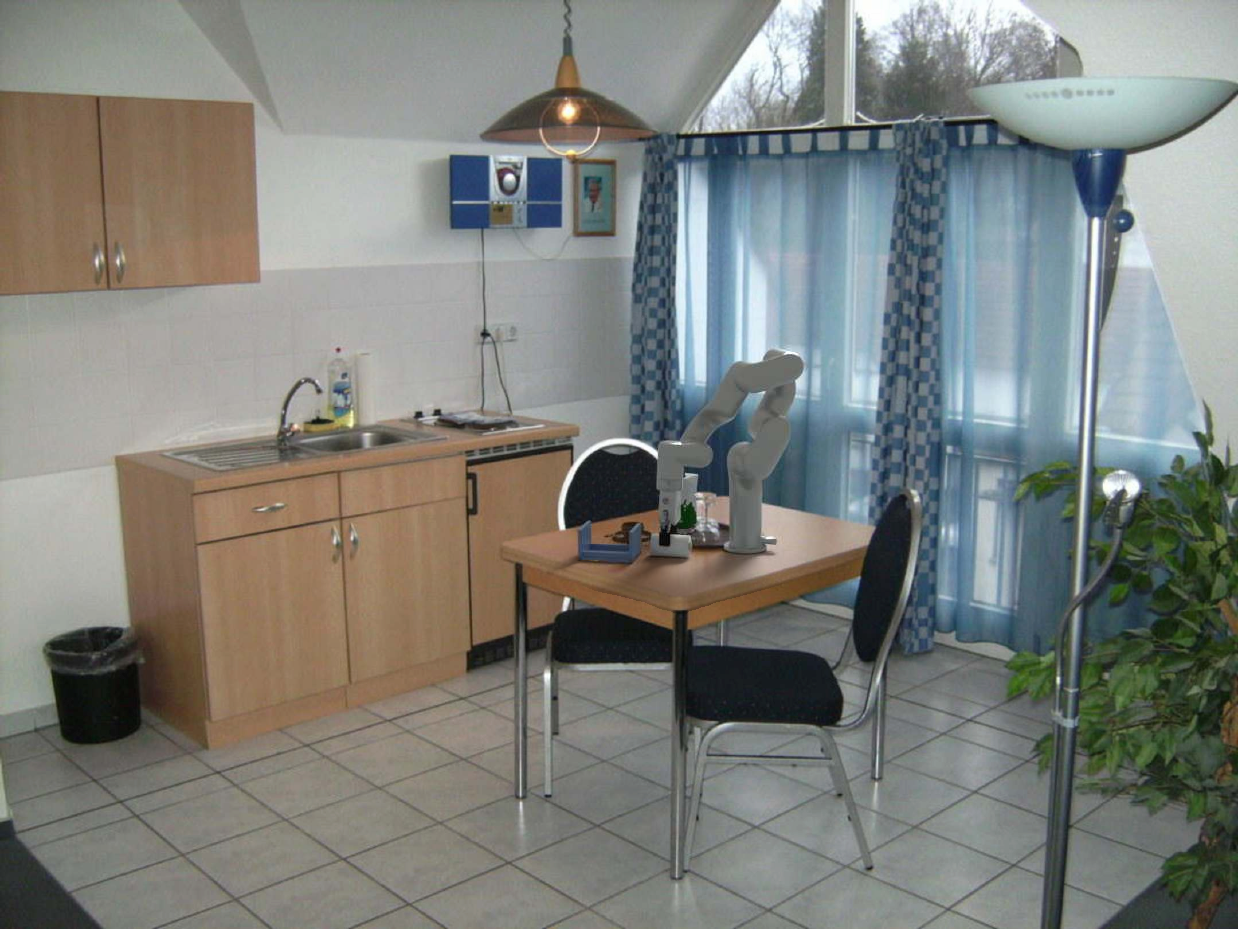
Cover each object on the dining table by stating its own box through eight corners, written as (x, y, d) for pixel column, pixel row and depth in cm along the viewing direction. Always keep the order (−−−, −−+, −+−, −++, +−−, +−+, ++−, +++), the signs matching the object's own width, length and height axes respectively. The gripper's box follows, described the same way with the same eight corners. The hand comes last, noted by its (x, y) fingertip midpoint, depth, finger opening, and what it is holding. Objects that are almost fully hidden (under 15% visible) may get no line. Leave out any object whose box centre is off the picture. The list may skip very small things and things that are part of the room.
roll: (693, 550, 369) (692, 531, 366) (689, 561, 363) (688, 542, 361) (653, 548, 372) (651, 529, 369) (648, 559, 366) (647, 540, 363)
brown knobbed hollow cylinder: (668, 539, 388) (668, 520, 387) (630, 553, 372) (630, 534, 371) (621, 531, 398) (621, 513, 397) (582, 545, 382) (582, 526, 381)
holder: (641, 553, 370) (641, 523, 368) (632, 563, 359) (632, 532, 358) (588, 550, 374) (587, 520, 372) (578, 560, 363) (577, 529, 361)
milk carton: (662, 533, 393) (662, 469, 389) (677, 526, 401) (676, 464, 397) (687, 536, 389) (687, 472, 385) (701, 530, 396) (701, 467, 392)
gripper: (677, 490, 354) (674, 550, 357) (688, 479, 371) (685, 536, 374) (650, 488, 356) (648, 548, 359) (662, 477, 372) (661, 534, 376)
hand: (667, 542), depth 366 cm, fingers open, 9 cm apart
